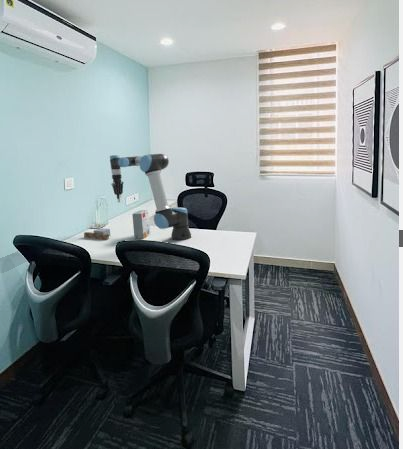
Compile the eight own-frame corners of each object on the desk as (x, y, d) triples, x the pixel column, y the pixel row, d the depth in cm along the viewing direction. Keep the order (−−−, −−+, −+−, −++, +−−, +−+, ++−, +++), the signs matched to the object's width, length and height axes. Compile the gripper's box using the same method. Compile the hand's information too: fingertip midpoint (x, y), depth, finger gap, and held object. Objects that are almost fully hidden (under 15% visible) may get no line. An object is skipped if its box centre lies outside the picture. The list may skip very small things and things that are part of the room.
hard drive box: (143, 239, 255) (141, 213, 250) (134, 239, 257) (131, 213, 252) (150, 233, 270) (148, 209, 265) (141, 233, 271) (139, 209, 267)
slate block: (110, 236, 271) (109, 228, 269) (103, 238, 264) (102, 231, 262) (101, 235, 275) (100, 228, 274) (94, 237, 268) (93, 230, 267)
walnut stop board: (109, 239, 261) (108, 234, 260) (107, 239, 259) (106, 234, 258) (86, 236, 272) (86, 232, 271) (84, 237, 270) (83, 232, 269)
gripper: (118, 173, 283) (121, 200, 289) (107, 175, 272) (111, 203, 277) (125, 173, 280) (128, 201, 285) (114, 175, 269) (118, 203, 274)
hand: (119, 202), depth 281 cm, fingers closed
